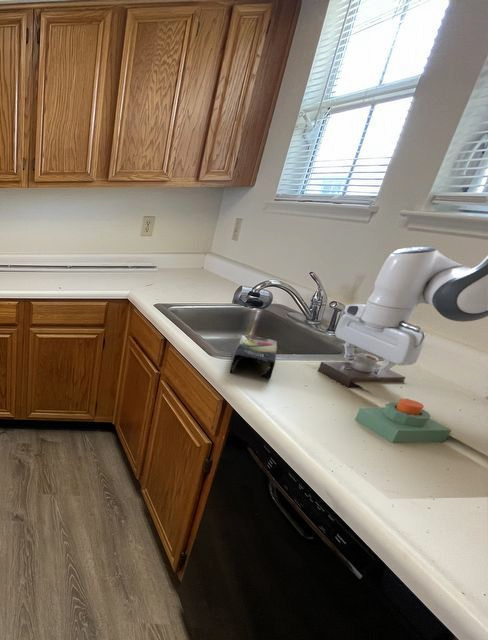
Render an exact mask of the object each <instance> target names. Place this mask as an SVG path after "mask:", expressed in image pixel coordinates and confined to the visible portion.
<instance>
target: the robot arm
mask: <svg viewBox="0 0 488 640" xmlns="http://www.w3.org/2000/svg"><path fill="white" fill-rule="evenodd" d="M420 304H426V305H429V306H431V307H432V308H433V309H435V310H436V312H438V314H439V315H441V316H442V317H444V318H445V319H447V320H450V321H452V322H462V323H464V322H466V323H467V322H474V321H478V320H482V319H485V318H487V317H488V255H487V256H486V257H484V258H483V260H482V261H481V262H480V263H479V264H478V265H476V266H475V267H473V268H472V267H469V266H467V265H464V264H462V263H459V262H457V261H454V260H452V259H450V258H449V257H446V255H444V254H442V253H441V252H439V251H438V249H437V248H434V247H429V246H410V247H409V246H408V247H402V248H399V249H397V250H394V251H393V252H391V254H389V256H388V257H387V258H386V260H385V261H384V263H383V265H382V266H381V269H380V271H379V272H378V275H377V277H376V279H375V282H374V289H373V292H372V293H371V295H370V296H369V297H368V298H367V301H366V303H359V304H347V305H345V307H344V314H343V315H341V317H340V318H339V320H338V322H337V325H336V328H335V330H334V333H335V337H336V339H339V340H341V341H344V344H343V347H344V352H345V353H344V355H343V359H345V360H346V361H354V359H355V357H356V354H357V353H355V347H357V348H359V349H361V350H364V351H366V352H368V353H369V354H370V353H371V354H372V355H374V356H376V357H378V358H381V359H383V361H382V363H383V364H382V365H380V366H381V367H376V369H375V371H374V373H375V374H377V375H379V376H385V375H386V373H387V371H388V370H391V369H392V368H394V367H395V366H412V365H414V364H416V363H417V362H418V359H419V357H420V354H421V352H422V348H423V345H424V341H425V338H426V333H425V331H424V330H423V327H421V326H418V325H414V324H412V323H410V321H411V319H412V316H413V315H414V313H415V311H416V308H417V306H419V305H420Z"/></svg>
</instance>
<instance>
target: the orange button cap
mask: <svg viewBox="0 0 488 640" xmlns="http://www.w3.org/2000/svg"><path fill="white" fill-rule="evenodd" d="M398 402H399V403H398V405H397V407H396V409H397V410H399V411H401V412H404V413H407V414H411V415H420V413H421V411H422V410H424V407H425V406H424V404H423V403H421V402H419V401H417V400H414V399H410V398H409V399H408V398H400V399H399V401H398Z"/></svg>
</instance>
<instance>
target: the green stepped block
mask: <svg viewBox="0 0 488 640" xmlns="http://www.w3.org/2000/svg"><path fill="white" fill-rule="evenodd" d="M398 403H399V401H392V402H391V401H390V402H388V403H387V404H385V407H380V406H379V407H359V409H358V411H357V413H356V415H355V418H354V420H355V421H356V422H358V423H359V424H362V426H365V428H367V429H369V430H371V431H372V432H373V433H376V434H377V435H379V436H380V437H382V438H383V439H385V440H387V441H388V442H389V443H390V444H417V443H419V444H421V443H422V444H423V443H425V444H426V443H445V442H446V440H447V439H448V437H449V436H450V433H451V432H452V429H450V428H449V427H447V426H445V425H443V424H441V423H440V422H437V421H436V420H434V419H432V418H431V414H430V413H429V412H428V411H426V410H424V409H422V411H421V413H420V415H411V414H407V413H404V412H401V411H399V410H397V409H396V407H397V405H398Z"/></svg>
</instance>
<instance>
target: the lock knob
mask: <svg viewBox="0 0 488 640" xmlns="http://www.w3.org/2000/svg"><path fill="white" fill-rule="evenodd" d="M355 354H356V356H355V359H354V360H352V361H353V364H352V366H351V367H352V368H353V369H356V370H358V371H362V372H373V370H374V368H375V366H376V364H378V361H379V357H378V356H377V355H374V354H370V353H365V352H364V353H363V352H359V353H355Z"/></svg>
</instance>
